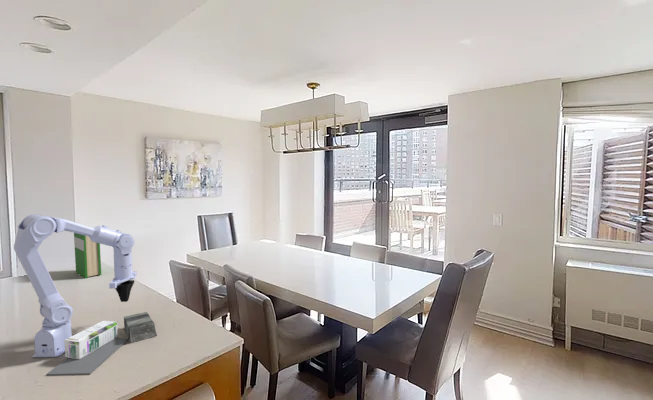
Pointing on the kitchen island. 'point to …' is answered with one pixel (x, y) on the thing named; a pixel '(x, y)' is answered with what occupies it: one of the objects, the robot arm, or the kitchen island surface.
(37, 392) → the kitchen island surface
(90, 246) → the hardback book
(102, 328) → the syrup box
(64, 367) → the mat
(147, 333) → the stone block
